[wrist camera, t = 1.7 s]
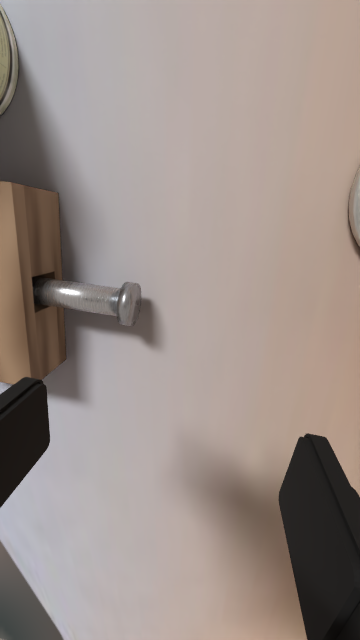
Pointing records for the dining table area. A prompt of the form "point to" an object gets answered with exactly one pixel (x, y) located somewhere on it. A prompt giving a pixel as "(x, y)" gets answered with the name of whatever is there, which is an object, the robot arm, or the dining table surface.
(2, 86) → the coffee can
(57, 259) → the block
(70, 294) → the pin
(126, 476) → the dining table surface
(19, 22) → the dining table surface
